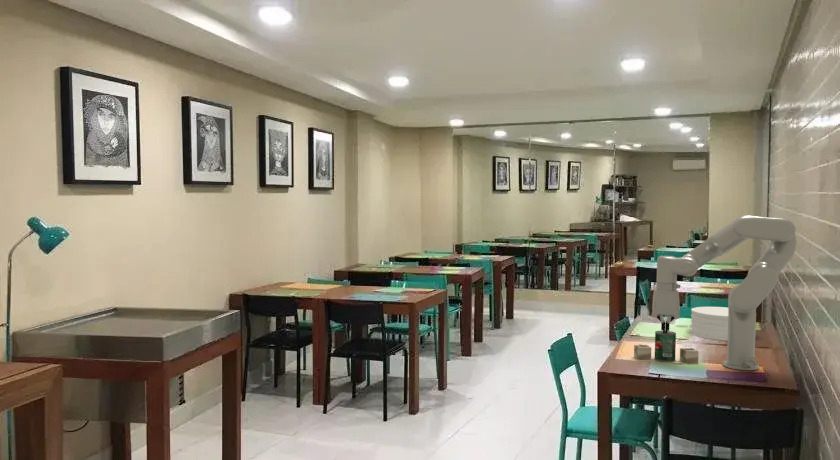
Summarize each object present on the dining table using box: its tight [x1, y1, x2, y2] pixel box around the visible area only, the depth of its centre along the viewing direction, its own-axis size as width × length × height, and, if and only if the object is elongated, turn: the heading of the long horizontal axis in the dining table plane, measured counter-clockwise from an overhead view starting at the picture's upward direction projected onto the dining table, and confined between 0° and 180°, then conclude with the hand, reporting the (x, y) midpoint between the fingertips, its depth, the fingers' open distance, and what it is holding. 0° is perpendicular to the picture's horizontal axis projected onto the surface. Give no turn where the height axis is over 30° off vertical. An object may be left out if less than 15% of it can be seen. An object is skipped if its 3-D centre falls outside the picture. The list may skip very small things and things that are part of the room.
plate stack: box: [690, 306, 756, 342], centre depth 313 cm, size 28×28×12 cm
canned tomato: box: [654, 330, 677, 363], centre depth 262 cm, size 8×8×11 cm
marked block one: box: [679, 347, 700, 364], centre depth 259 cm, size 5×5×5 cm
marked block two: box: [633, 344, 652, 361], centre depth 264 cm, size 5×5×5 cm
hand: (665, 332), depth 262 cm, fingers closed
